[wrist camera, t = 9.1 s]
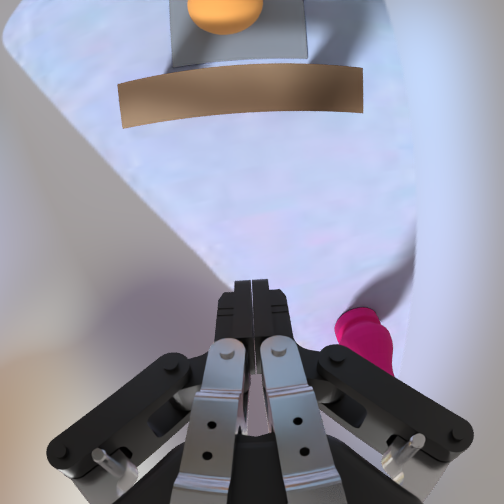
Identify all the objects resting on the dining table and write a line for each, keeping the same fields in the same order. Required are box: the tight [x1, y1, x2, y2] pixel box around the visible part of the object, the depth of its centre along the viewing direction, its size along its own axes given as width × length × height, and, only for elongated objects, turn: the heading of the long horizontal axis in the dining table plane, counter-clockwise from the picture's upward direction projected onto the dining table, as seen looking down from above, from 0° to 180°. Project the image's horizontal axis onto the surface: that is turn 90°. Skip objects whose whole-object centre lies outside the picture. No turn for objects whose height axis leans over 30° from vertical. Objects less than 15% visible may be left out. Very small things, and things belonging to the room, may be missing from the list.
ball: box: [187, 0, 263, 35], centre depth 17 cm, size 6×6×6 cm
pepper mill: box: [335, 307, 394, 376], centre depth 30 cm, size 7×7×20 cm
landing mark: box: [169, 0, 307, 68], centre depth 19 cm, size 12×12×1 cm
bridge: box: [118, 63, 363, 129], centre depth 20 cm, size 3×15×10 cm, turn 93°
